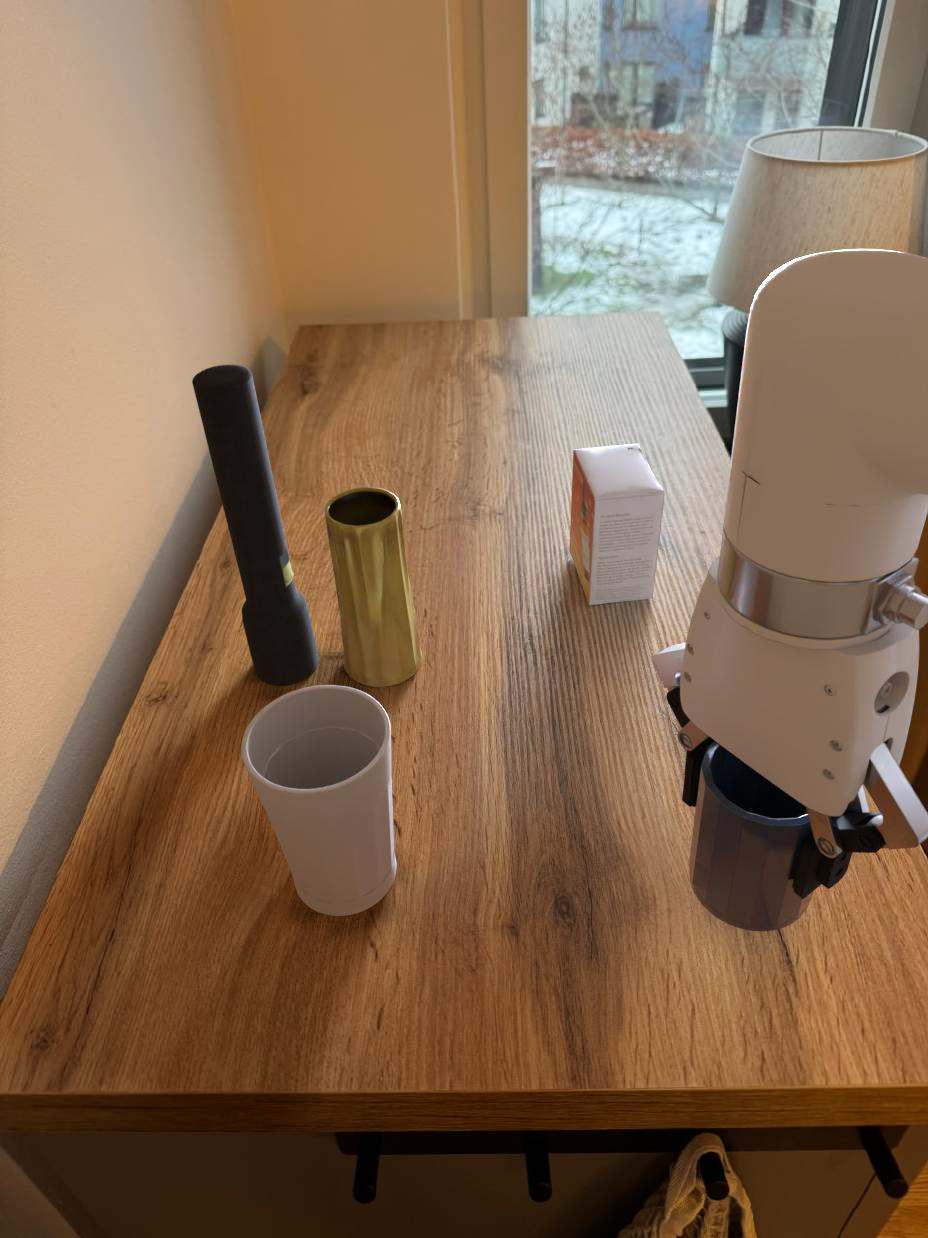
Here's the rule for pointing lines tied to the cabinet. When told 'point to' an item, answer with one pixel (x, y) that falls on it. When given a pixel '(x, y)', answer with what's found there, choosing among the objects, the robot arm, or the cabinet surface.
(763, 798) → the tumbler
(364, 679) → the vase
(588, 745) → the cabinet surface
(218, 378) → the flashlight
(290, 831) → the cup
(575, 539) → the small box
